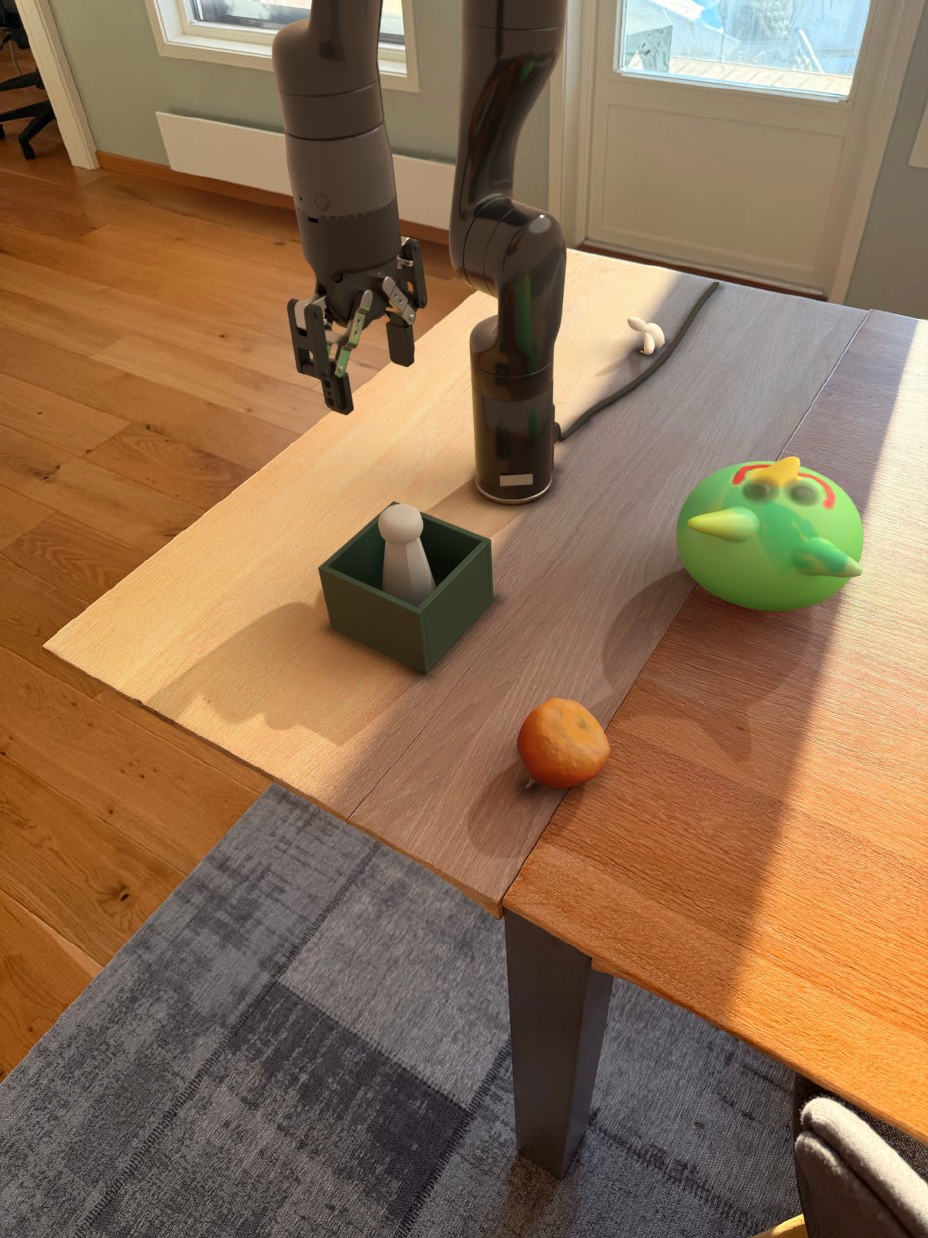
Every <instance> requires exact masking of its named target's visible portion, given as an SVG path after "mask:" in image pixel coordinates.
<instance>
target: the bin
mask: <svg viewBox="0 0 928 1238" xmlns="http://www.w3.org/2000/svg"><path fill="white" fill-rule="evenodd" d="M396 504H401V503H400V502H397V501H395V500H392V501H391V503H389V504H388V505H387V506H386V507H385V508H384V509H382V510H381V512H379V513H378V514H376V516H375V517H373V518H372V519H371V520H370V521H369V522H368V523H367V524H365V525H364V526H363V527H362V528H361V529H360V530H359V531H357V532H356V534H355V535H353V536H352V537H351V538H350V539H349V540H348V541H346V542H345V543H344V544H343V545H342V546H341V547H340V548H338V550H337V551H335V552H334V553H333V554H331V556H330V557H328V558H327V559H326V560H325V561H324V562H323V563H322V564H320V565H319V566H318V567H317V571H318V576H319V581H320V583H321V588H322V593H323V597H324V602H325V606H326V610H327V615H328V620H329V624H330V628H331V629H333V630H334V631H336V632H338V633H339V634H341V635H344V636H346V637H349V638H350V639H353V640H355V641H356V642H359V643H361V644H363V645H365V646H367V647H369V648H371V649H373V650H375V651H377V652H379V653H381V654H383V655H385V656H386V657H389V658H390V659H393V660H395V661H397V662H399V663H402V664H403V665H406V666H407V667H410V668H411V669H414V670H416V671H418V672H420V673H422V674H424V675H428V673H430V671H431V670H432V669H433V668H434V666H436V665H437V663H438V662H440V660H441V659H442V658H443V657H444V656H445V655H446V653H448V651H449V650H450V649H451V648H452V647H453V646H454V645H455V644H456V642H457V641H458V640H459V639H460V638H462V636H463V635H464V634H465V633H466V632H467V630H468V629H469V628H470V627H471V626H472V625H474V623H475V622H476V620H478V619H479V617H480V616H481V615H482V614H483V612H485V611H486V610H487V608H488V607H489V606H490V605H491V604H492V603H493V602H494V580H493V552H492V539H491V538H489V537H486V536H484V535H481V534H479V533H475V532H473V531H471V530H468V529H466V528H463V527H461V526H458V525H456V524H453V523H450V522H448V521H446V520H444V519H440V518H438V517H436V516H433V515H431V514H428V513H425V512H423V511H420V514H421V518H422V521H423V529H422V532H421V535H420V537H419V538H420V541H421V544H422V547H423V550H424V553H425V556H426V559H427V562H428V564H429V567H430V570H431V573H432V576H433V579H434V582H435V585H436V589H435V590H434V591H433V592H432V593H431V594H430V595H429V596H428V597H427V598H426V599H425V600H424V601H423V602H422V603H421V604H420V605H419V606H418V607H416V606H413V605H411V604H409V603H407V602H405V601H402V600H400V599H398V598H396V597H393V596H391V595H389V594H387V593H385V592H382V579H383V567H384V554H385V542H386V540H385V539H383V538H382V536H381V533H380V530H379V526H378V519H379V517H380V515H381V513H382V512H383V511H384V510H386V509H387V508H388V507H390V506H393V505H396Z"/></svg>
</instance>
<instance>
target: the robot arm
mask: <svg viewBox="0 0 928 1238" xmlns="http://www.w3.org/2000/svg"><path fill="white" fill-rule="evenodd" d="M568 3H569V0H460V19H459V20H460V23H459V24H460V76H459V77H460V78H459V79H460V80H459V102H458V128H457V129H458V130H457V145H456V156H455V167H454V177H453V186H452V195H451V202H450V203H451V204H450V213H449V214H450V215H449V224H448V225H449V226H448V254H449V260H450V265H451V267H452V270H453V271H454V273H455V275H456V277H457V278H458V280H461V282H462V283H464V284H465V285H466V286H468V287H471V288H473V289H475V290H476V291H478V292H482V293H484V294H485V295H488V296H490V297H492V298H495V299H497V314H494V315H492V316H491V315H490V316H489V317H486V318H484V319H483V320H481V321H480V322H478V323H476V325H475V326H474V327H473V328H472V330H471V332H470V335H469V339H468V340H469V341H468V343H469V364H470V365H469V366H470V382H471V400H472V401H471V402H472V404H471V405H472V421H473V422H472V423H473V440H474V441H473V442H474V462H475V464H474V465H475V477H474V478H475V487H476V489H477V491H478V493H480V494H481V495H482V496H483V497H484V498H486V499H487V500H489V501H491V502H495V503H499V504H503V505H522V504H523V505H525V504H528V503H532V502H534V501H536V500H539V499H540V498H542V497H543V496H545V495H546V494H547V493H548V492H549V491H550V489H551V487H552V485H553V471H554V468H555V466H554V465H555V444H556V443H557V442H558V441H565V440H567V439H569V438H570V437H571V436H573V435H574V434H575V433H576V432H577V431H578V430H579V429H580V428H581V427H582V426H583V425H584V424H585V423H586V422H587V421H588V420H589V419H590V418H591V417H592V416H594V415H595V414H597V413H598V412H600V411H601V410H603V409H605V408H606V407H608V406H610V405H611V404H613V403H615V402H616V401H618V400H620V399H621V398H623V397H624V396H625V395H627V394H628V393H630V392H631V391H633V390H634V389H635V388H637V387H638V386H639V385H641V384H642V383H643V382H644V381H646V380H647V379H648V378H649V377H650V376H651V375H653V373H655V372H656V371H657V370H658V369H659V368H660V367H661V366H662V365H663V364H664V363H665V362H666V360H667V359H669V357H670V356H671V355H672V353H673V352H674V351H675V349H676V348H677V346H678V345H679V344H680V342H681V341H682V340H683V338H684V337H685V335H686V333H687V332H688V330H689V329H690V326H691V325H692V323H693V322H694V320H695V319H696V317H697V315H698V313H699V312H700V310H701V308H702V307H703V305H704V304H705V302H706V301H707V300H708V299H709V298H710V296H711V295H712V294H713V293H714V292H715V291H716V290H717V288H718V287H719V286H720V281H718V282H715V281H713V282H712V284H711V285H710V286H709V287H708V289H706V291H705V292H704V293H703V294H702V295H701V297H700V298H699V299H698V301H697V302H696V303H695V305H694V306H693V308H692V310H691V311H690V313H689V314H688V317H687V318H686V319H685V321H684V323H683V325H682V326H681V327H680V329H679V331H678V333H677V334H676V336H675V338H674V339H672V341H671V343H670V344H669V345H668V347H667V348H666V349H665V350H664V352H663V353H662V354H661V355H660V356H659V357H658V358H657V359H656V360H655V361H654V362H653V363H652V364H651V365H650V366H649V367H648V368H646V370H644V371H643V372H642V373H641V374H639V376H637V377H635V379H633V380H632V381H631V382H629V383H628V384H626V385H625V386H623V387H622V388H621V389H619V390H617V391H616V392H614V393H613V394H611V395H609V396H608V397H606V398H604V399H602V400H601V401H599V402H597V403H595V404H594V405H593V406H591V407H590V408H588V409H587V410H586V411H585V412H583V413H582V414H581V415H580V416H579V417H578V419H576V421H575V422H574V423H573V424H572V425H571V426H570V427H569V428H568V429H567V430H566V431H563V432H562V428H561V425H560V423H559V422H558V421H556V405H555V404H554V367H555V366H554V365H555V361H554V360H555V345H556V341H557V338H558V335H559V332H560V330H561V325H562V319H563V310H564V297H565V284H566V274H567V258H568V256H567V255H568V253H567V252H568V251H567V248H568V247H567V238H566V234H565V230H564V227H563V225H562V223H561V222H560V220H559V219H558V217H556V216H555V215H553V214H552V213H551V212H548V211H546V210H544V209H541V208H538V207H536V206H533V205H530V204H528V203H524V202H521V201H519V200H516V199H515V172H516V171H515V170H516V161H517V160H516V159H517V152H518V146H519V141H520V137H521V134H522V131H523V129H524V126H525V124H526V122H527V120H528V118H529V116H530V114H531V112H532V110H533V108H534V107H535V105H536V103H537V102H538V100H539V98H540V96H541V95H542V93H543V91H544V90H545V88H546V85H547V84H548V82H549V80H550V78H551V76H552V74H553V72H554V70H555V68H556V66H557V64H558V61H559V60H560V59H559V58H560V56H561V53H562V49H563V47H564V42H565V35H566V28H567V27H566V26H567V17H568ZM383 8H384V0H311V2H310V10H309V16H308V17H306V18H302V19H299V20H296V21H293V22H290V23H288V24H286V25H285V26H283V27H282V28H280V30H278V31H277V32H276V34H275V36H274V37H273V40H272V42H271V61H272V63H271V64H272V68H273V69H272V70H273V76H274V82H275V85H276V91H277V97H278V102H279V108H280V113H281V118H282V119H281V120H282V124H283V128H284V129H283V130H284V131H283V132H284V138H285V140H284V141H285V155H286V165H287V172H288V177H289V182H290V187H291V194H292V199H293V204H294V209H295V216H296V221H297V227H298V231H299V237H300V241H301V248H302V253H303V256H304V259H305V261H306V262H307V263H308V265H309V266H310V268H311V270H312V271H313V273H314V275H315V286H314V292H313V293H314V294H312V295H310V296H309V297H307V298H305V299H303V300H302V299H297V298H294V297H293V298H290V299H289V300H288V302H287V305H286V312H287V317H288V324H289V330H290V336H291V343H292V349H293V355H294V361H295V362H294V363H295V367H296V372H297V373H298V374H301V375H303V376H304V375H305V376H308V377H311V378H315V379H317V380H320V384H321V390H322V393H323V394H322V395H323V398H324V399H323V400H324V404H325V406H326V407H327V408H328V409H330V410H331V411H332V412H334V413H337V414H341V415H344V416H348V415H350V414H351V413H352V412H354V410H355V405H354V400H353V394H352V389H351V383H350V382H351V381H350V376H349V372H347V368H348V364H349V360H350V356H351V352H352V351H354V350H355V349H357V348H358V346H359V342H360V339H361V335H362V331H364V330H366V329H367V328H368V327H369V326H370V324H372V322H373V321H377V320H379V319H381V318H383V317H385V318H386V319H387V320H388V321H387V322H385V329H386V337H387V346H388V354H389V359H390V361H391V362H392V364H394V365H398V366H402V367H404V368H409V367H411V366H412V365H413V364H414V363H415V361H416V359H415V352H416V351H415V350H416V347H415V338H414V336H415V335H414V326H413V325H414V324H415V322H416V318H417V314H416V313H417V311H418V310H419V309H420V310H421V309H422V310H423V309H425V308H426V307H427V305H428V292H427V291H428V290H427V285H426V277H425V270H424V261H423V253H422V245H421V242H420V240H419V239H416V238H411V237H407V236H403V235H402V232H401V222H400V214H399V213H400V212H399V204H398V203H399V202H398V194H397V184H396V176H395V165H394V158H393V150H392V146H391V141H390V138H389V134H388V129H387V122H386V119H385V116H386V115H385V107H384V97H383V88H382V79H381V70H380V64H379V43H380V34H381V33H380V32H381V25H382V17H383ZM408 283H410V284H411V286H412V290H410V289H409V284H408ZM334 324H336V325H337V326H339V327H341V328H344V329H346V330H345V332H344V333H343V334H339V333H336V332H335V331H333V325H334ZM334 344H335V345H336V351H335V354H334V358H332V357H330V355H331V350H332V347H333V345H334ZM310 353H311V354H310ZM311 355H312V357H311Z"/></svg>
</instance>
